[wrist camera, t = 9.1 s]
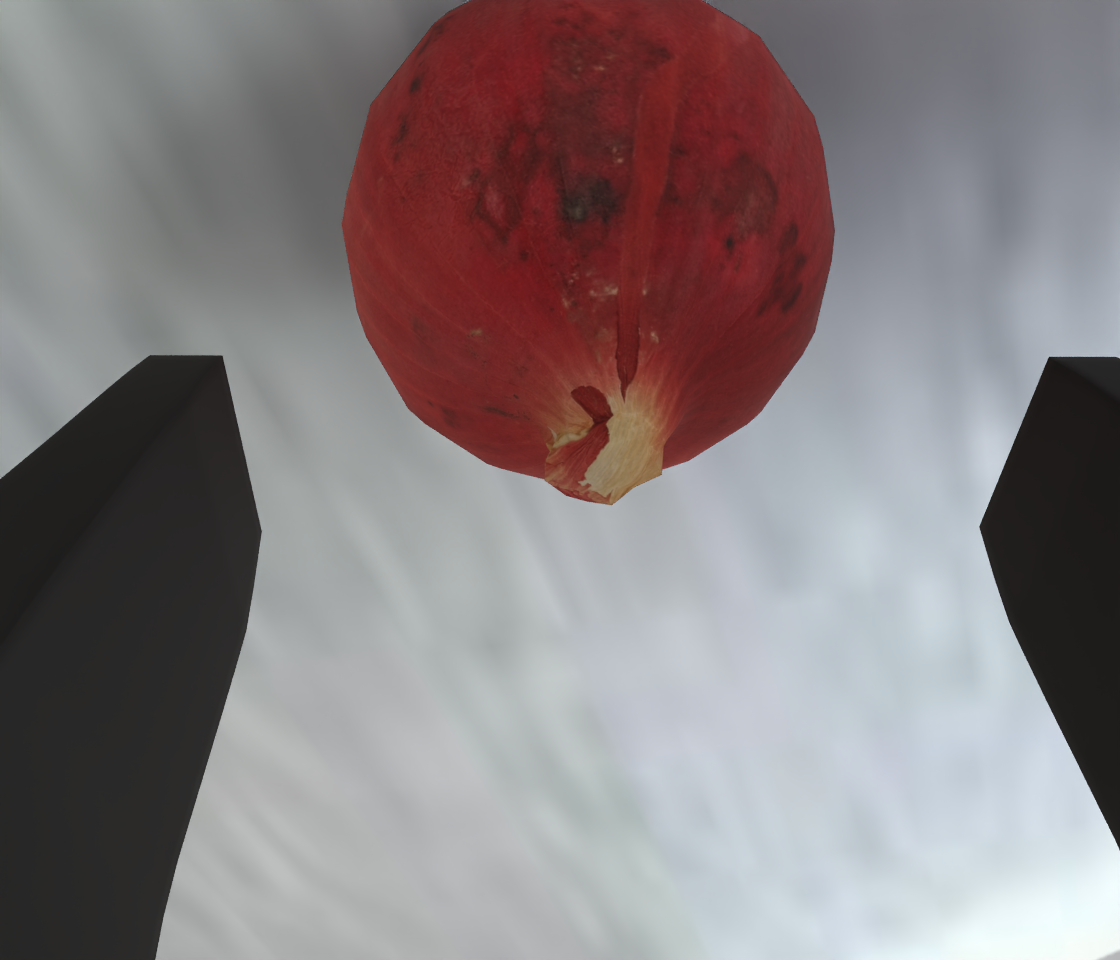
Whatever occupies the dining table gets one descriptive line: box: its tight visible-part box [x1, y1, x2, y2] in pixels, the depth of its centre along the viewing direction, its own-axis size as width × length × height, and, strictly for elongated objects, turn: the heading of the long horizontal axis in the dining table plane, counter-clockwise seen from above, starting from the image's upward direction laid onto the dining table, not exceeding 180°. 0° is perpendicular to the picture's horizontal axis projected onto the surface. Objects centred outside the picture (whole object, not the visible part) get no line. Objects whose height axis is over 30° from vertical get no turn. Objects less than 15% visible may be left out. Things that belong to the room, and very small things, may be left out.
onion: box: [342, 0, 835, 505], centre depth 12 cm, size 6×6×8 cm
